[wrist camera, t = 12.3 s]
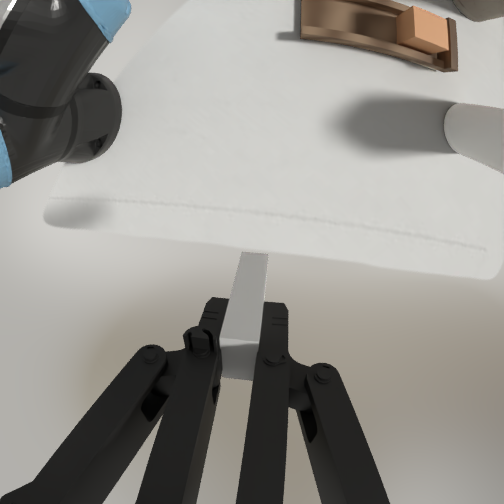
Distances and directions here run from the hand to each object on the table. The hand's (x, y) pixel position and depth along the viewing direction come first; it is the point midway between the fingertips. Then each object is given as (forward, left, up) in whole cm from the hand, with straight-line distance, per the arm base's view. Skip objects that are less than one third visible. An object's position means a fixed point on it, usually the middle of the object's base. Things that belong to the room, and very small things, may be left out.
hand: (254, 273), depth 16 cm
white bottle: (+29, +12, -25) cm, 40 cm away
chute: (+13, +24, -24) cm, 37 cm away
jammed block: (+19, +24, -24) cm, 38 cm away
